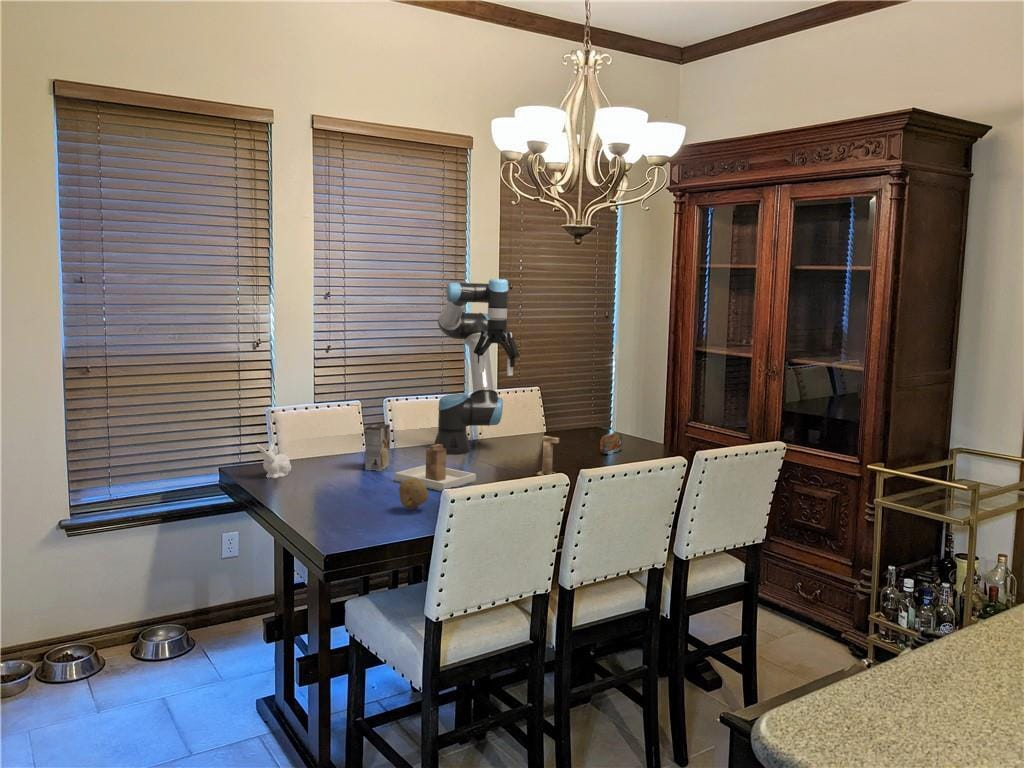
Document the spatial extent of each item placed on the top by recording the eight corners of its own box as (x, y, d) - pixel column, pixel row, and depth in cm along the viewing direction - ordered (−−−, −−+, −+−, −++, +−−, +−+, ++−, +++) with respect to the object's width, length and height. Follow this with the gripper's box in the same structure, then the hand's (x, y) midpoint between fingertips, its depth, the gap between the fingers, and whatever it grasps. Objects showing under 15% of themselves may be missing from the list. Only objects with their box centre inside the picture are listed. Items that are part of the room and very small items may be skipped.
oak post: (533, 476, 300) (535, 437, 298) (544, 472, 306) (545, 434, 304) (551, 479, 296) (552, 439, 294) (561, 475, 302) (562, 437, 300)
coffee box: (373, 464, 309) (374, 423, 307) (389, 466, 308) (390, 424, 306) (364, 470, 300) (365, 427, 298) (381, 471, 299) (381, 428, 297)
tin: (604, 456, 337) (605, 436, 336) (597, 455, 339) (598, 435, 338) (622, 451, 349) (623, 432, 348) (616, 450, 351) (617, 431, 350)
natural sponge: (428, 506, 257) (429, 475, 256) (426, 514, 248) (427, 482, 247) (400, 505, 257) (400, 474, 255) (397, 513, 248) (397, 481, 246)
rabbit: (271, 480, 281) (271, 446, 280) (252, 476, 286) (252, 443, 284) (297, 474, 292) (297, 441, 290) (278, 470, 296) (277, 437, 295)
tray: (394, 481, 286) (394, 472, 286) (428, 472, 301) (428, 464, 300) (443, 492, 274) (443, 483, 273) (475, 482, 288) (476, 473, 288)
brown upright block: (425, 479, 286) (426, 445, 285) (434, 476, 291) (435, 443, 289) (436, 481, 284) (437, 447, 282) (445, 479, 288) (446, 445, 286)
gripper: (529, 320, 311) (527, 376, 314) (477, 317, 325) (475, 370, 328) (518, 321, 305) (516, 377, 308) (465, 317, 319) (464, 371, 322)
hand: (495, 373), depth 318 cm, fingers open, 13 cm apart
